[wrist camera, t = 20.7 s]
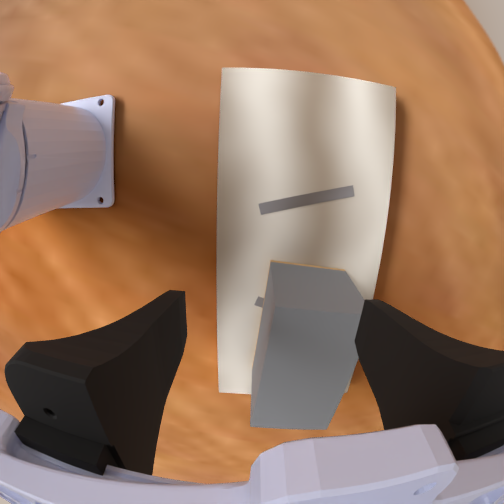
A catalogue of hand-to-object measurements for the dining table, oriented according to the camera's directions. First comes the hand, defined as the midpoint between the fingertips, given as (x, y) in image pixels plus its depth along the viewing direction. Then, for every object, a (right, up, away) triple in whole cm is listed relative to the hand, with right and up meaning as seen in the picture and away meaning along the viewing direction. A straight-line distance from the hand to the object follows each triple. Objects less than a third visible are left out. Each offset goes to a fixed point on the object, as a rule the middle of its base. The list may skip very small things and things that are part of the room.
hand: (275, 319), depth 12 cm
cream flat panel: (+2, +2, +9) cm, 10 cm away
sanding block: (+2, -2, +9) cm, 10 cm away
